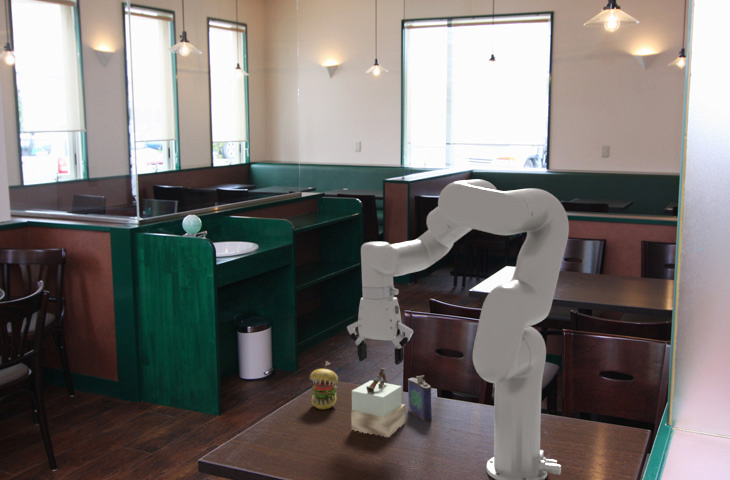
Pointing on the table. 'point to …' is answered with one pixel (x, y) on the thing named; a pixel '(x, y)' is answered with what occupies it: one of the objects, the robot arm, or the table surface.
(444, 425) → the table surface
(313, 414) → the table surface
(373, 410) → the top block
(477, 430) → the table surface
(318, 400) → the hamburger
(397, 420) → the bottom block
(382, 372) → the wooden post with brackets
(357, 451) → the table surface
